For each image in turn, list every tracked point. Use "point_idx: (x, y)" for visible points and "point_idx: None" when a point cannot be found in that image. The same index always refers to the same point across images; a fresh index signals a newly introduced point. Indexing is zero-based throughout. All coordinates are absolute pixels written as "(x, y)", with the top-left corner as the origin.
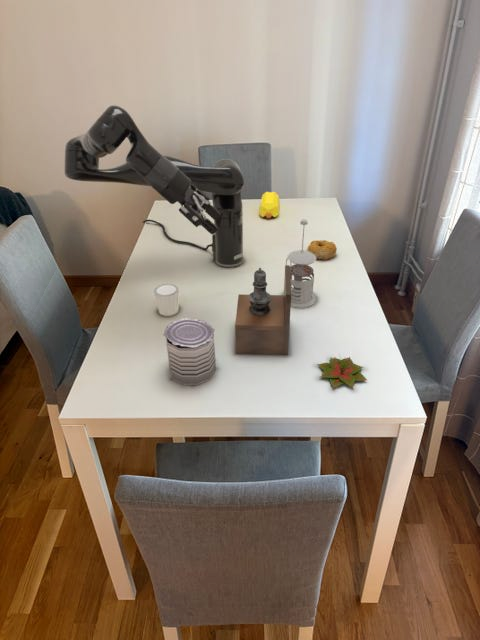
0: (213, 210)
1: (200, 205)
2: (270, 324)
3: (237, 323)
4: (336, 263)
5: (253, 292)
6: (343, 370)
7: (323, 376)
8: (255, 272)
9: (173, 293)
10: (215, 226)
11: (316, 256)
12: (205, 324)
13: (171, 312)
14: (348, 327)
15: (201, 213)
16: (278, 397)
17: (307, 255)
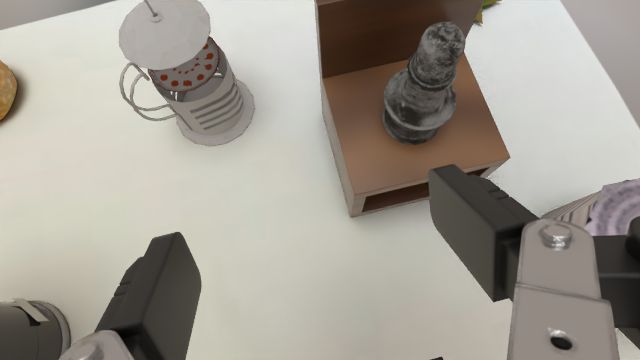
0: (166, 288)
1: (509, 348)
2: (470, 76)
3: (501, 153)
4: (36, 61)
5: (431, 105)
6: None
7: (477, 17)
8: (453, 50)
9: None
10: (458, 173)
11: (10, 100)
12: (598, 219)
13: None
14: (304, 5)
15: (593, 279)
16: (561, 77)
17: (171, 2)
